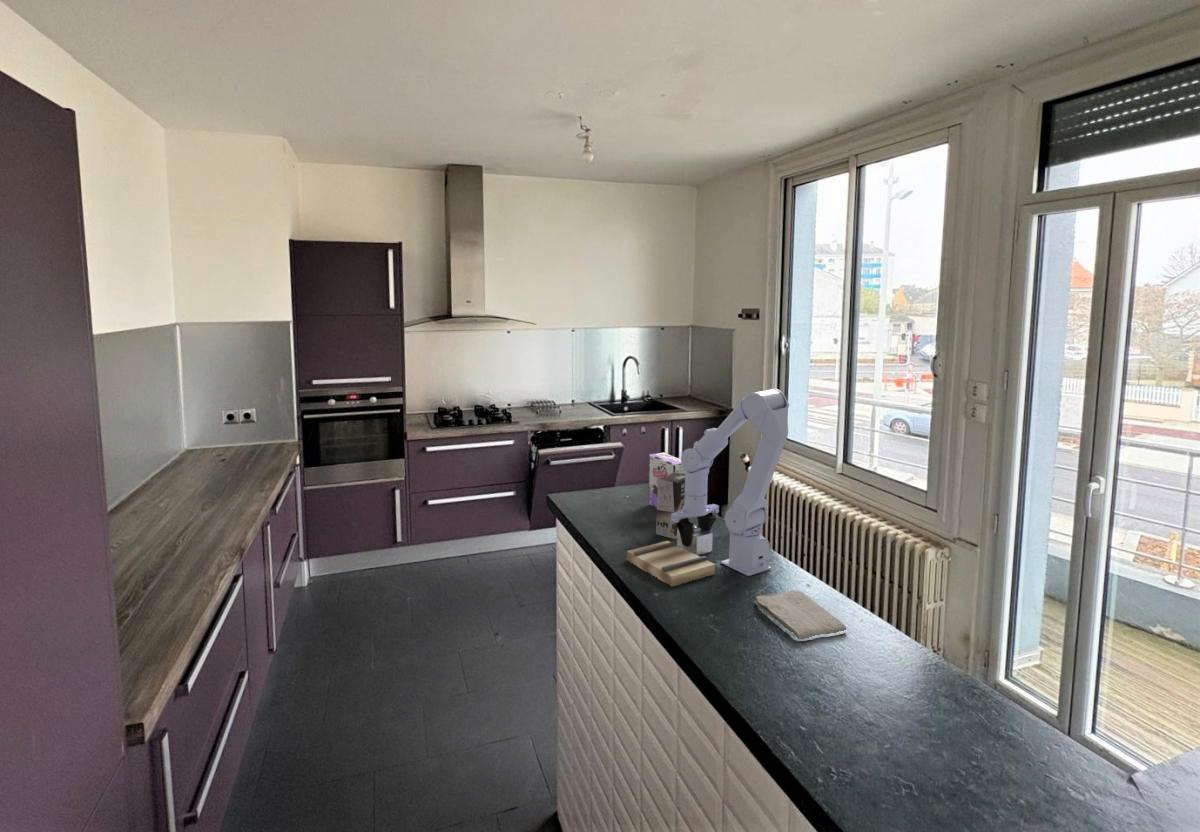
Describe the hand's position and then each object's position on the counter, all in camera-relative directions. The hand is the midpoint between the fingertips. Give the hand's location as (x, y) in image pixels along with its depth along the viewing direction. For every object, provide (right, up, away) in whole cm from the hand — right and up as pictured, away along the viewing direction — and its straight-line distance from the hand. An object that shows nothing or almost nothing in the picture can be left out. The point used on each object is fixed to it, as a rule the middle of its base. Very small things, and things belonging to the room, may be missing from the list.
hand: (694, 543), depth 180 cm
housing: (0, -1, 0) cm, 1 cm away
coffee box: (-4, +1, +12) cm, 12 cm away
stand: (-8, -4, -12) cm, 14 cm away
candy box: (-4, +4, +31) cm, 32 cm away
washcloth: (+16, -9, -37) cm, 42 cm away
